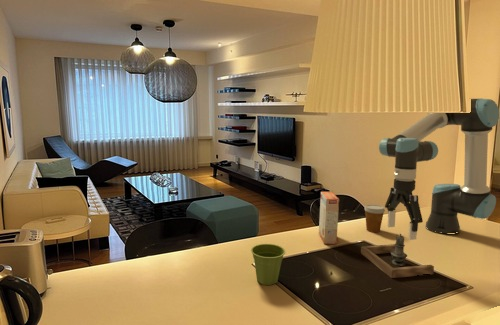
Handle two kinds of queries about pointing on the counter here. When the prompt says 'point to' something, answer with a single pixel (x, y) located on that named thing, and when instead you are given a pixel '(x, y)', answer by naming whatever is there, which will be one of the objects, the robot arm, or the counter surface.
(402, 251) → the dark grey candlestick
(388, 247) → the brown u-shaped bracket
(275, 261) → the plant pot
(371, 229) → the disposable coffee cup
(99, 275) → the counter surface
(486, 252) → the counter surface
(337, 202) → the cracker box
